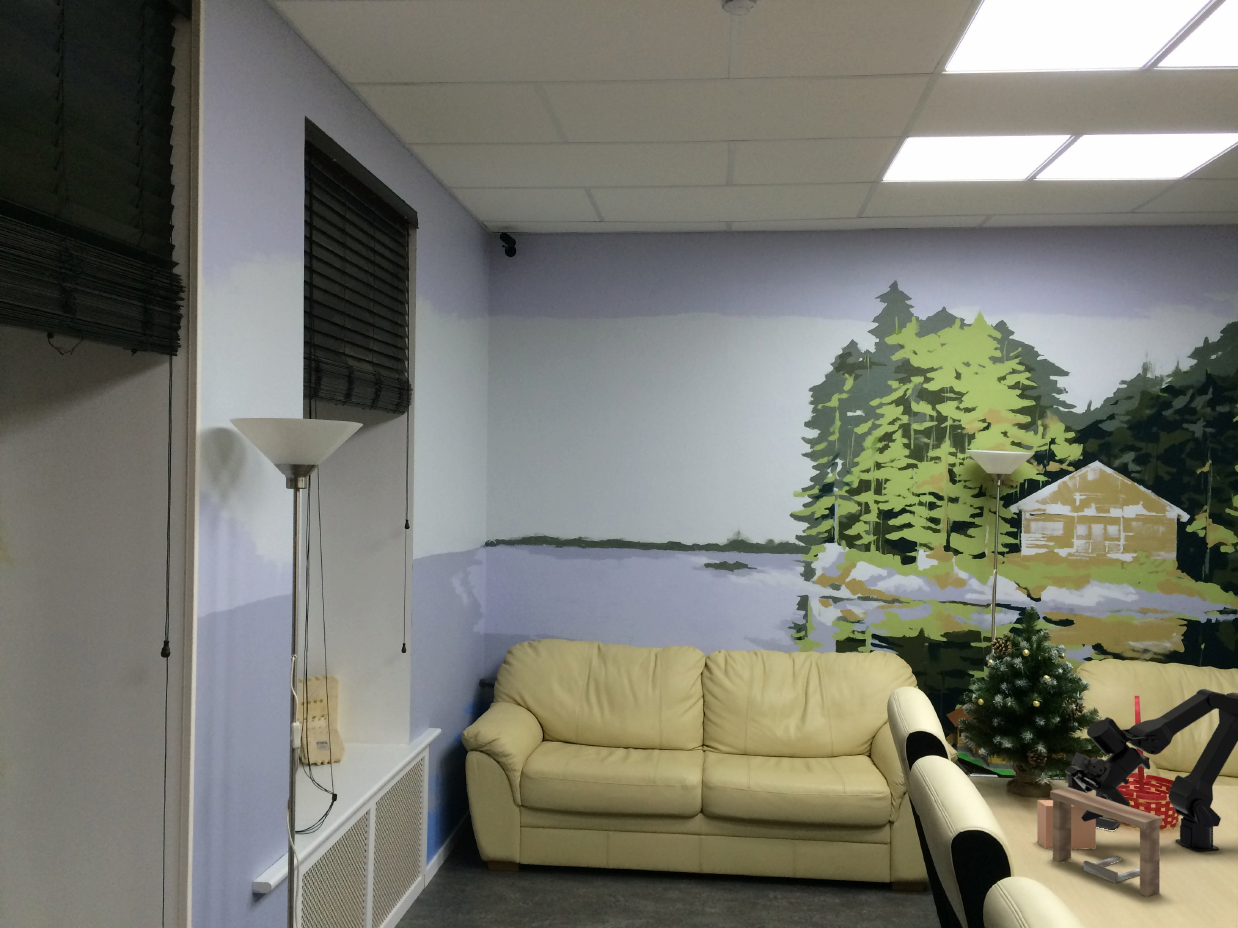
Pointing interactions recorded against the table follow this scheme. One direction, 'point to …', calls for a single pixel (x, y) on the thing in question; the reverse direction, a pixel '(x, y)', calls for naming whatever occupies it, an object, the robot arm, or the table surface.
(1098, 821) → the phone
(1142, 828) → the walnut bridge
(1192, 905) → the table surface
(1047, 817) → the terracotta panel
